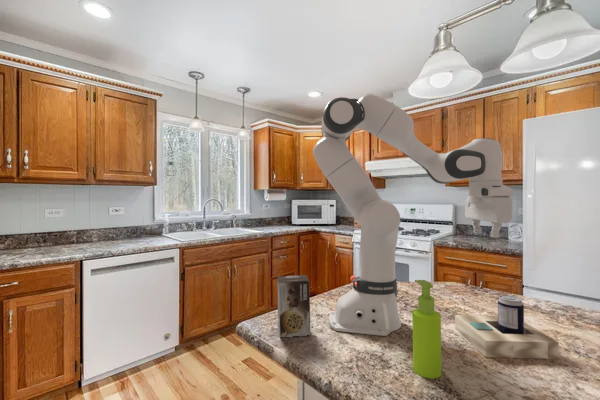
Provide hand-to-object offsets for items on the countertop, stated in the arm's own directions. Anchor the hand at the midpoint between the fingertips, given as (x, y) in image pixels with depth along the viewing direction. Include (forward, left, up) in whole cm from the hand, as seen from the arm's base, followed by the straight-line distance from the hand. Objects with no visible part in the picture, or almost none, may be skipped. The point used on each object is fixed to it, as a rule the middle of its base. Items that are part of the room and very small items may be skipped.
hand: (485, 235), depth 90 cm
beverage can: (0, -12, -28) cm, 30 cm away
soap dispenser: (-28, -26, -28) cm, 47 cm away
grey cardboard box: (-60, -9, -28) cm, 66 cm away
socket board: (-3, -12, -28) cm, 30 cm away
